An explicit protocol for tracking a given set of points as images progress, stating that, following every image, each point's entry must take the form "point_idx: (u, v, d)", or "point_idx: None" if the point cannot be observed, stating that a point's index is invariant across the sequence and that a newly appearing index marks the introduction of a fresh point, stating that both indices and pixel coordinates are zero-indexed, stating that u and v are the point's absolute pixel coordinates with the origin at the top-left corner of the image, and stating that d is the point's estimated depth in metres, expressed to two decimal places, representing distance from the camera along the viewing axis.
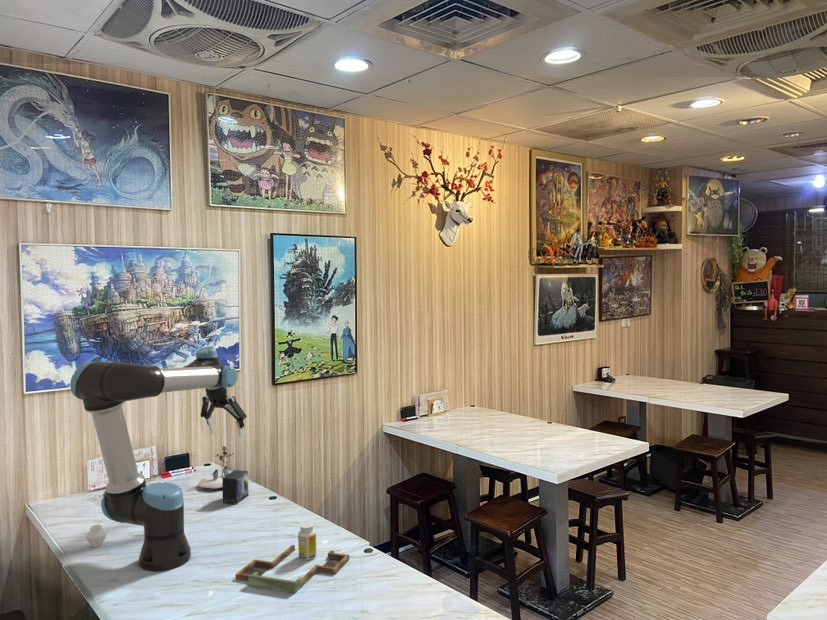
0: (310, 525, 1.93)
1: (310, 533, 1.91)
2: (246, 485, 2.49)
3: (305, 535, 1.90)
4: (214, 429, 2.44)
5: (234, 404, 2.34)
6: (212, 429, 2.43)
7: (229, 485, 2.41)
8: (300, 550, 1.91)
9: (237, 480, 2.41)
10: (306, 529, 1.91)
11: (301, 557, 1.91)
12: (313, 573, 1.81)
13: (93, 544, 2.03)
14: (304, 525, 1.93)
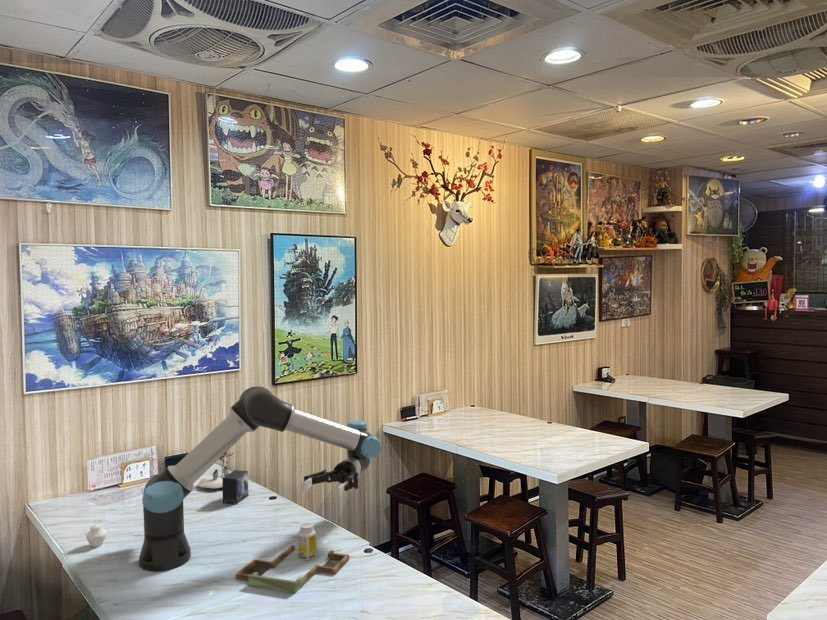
0: (310, 525, 1.93)
1: (310, 533, 1.91)
2: (246, 485, 2.49)
3: (305, 535, 1.90)
4: (304, 487, 2.05)
5: (357, 477, 2.12)
6: (305, 484, 2.05)
7: (229, 485, 2.41)
8: (300, 550, 1.91)
9: (237, 480, 2.41)
10: (306, 529, 1.91)
11: (301, 557, 1.91)
12: (313, 573, 1.81)
13: (93, 544, 2.03)
14: (304, 525, 1.93)
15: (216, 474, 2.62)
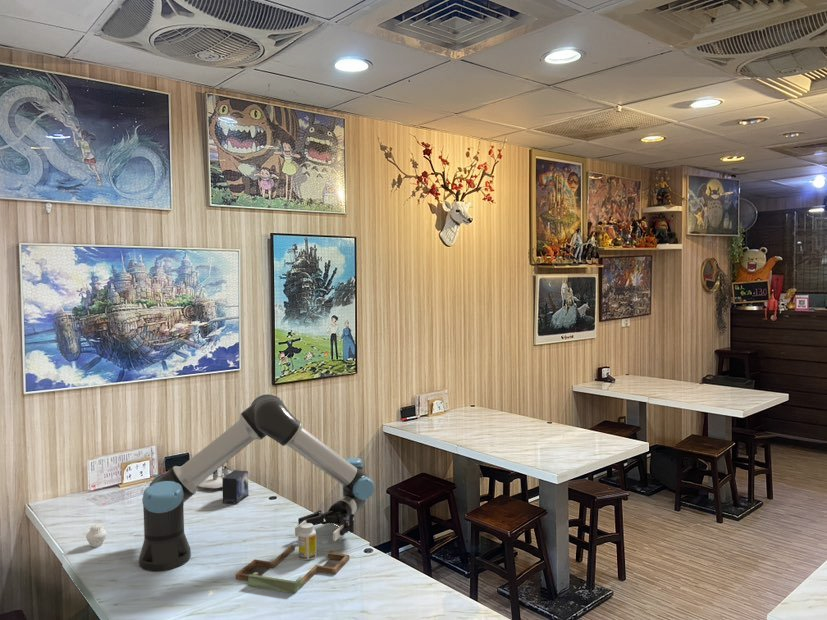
0: (310, 525, 1.93)
1: (310, 533, 1.91)
2: (246, 485, 2.49)
3: (305, 535, 1.90)
4: (298, 531, 2.00)
5: (352, 519, 2.08)
6: (299, 527, 2.00)
7: (229, 485, 2.41)
8: (300, 550, 1.91)
9: (237, 480, 2.41)
10: (306, 529, 1.91)
11: (301, 557, 1.91)
12: (313, 573, 1.81)
13: (93, 544, 2.03)
14: (304, 525, 1.93)
15: (216, 474, 2.62)
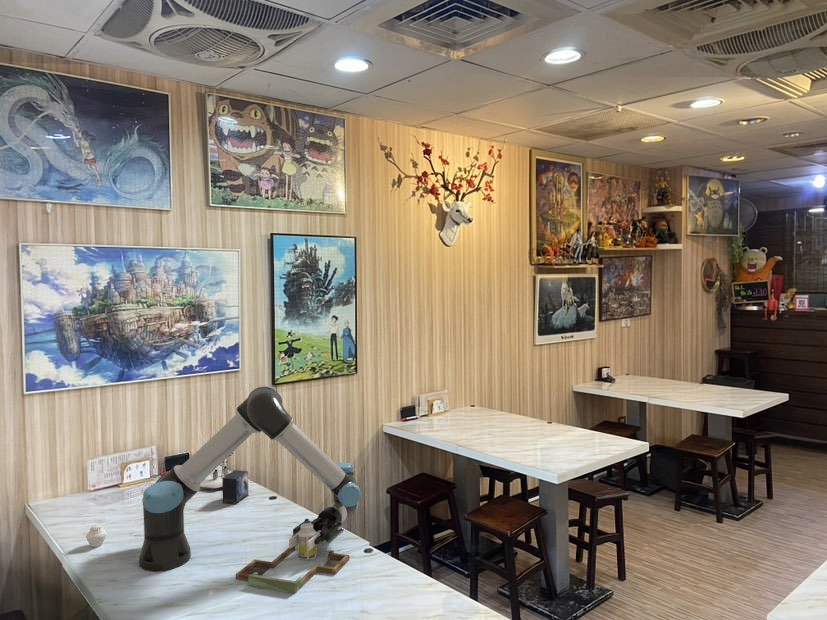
0: (310, 525, 1.93)
1: (310, 533, 1.91)
2: (246, 485, 2.49)
3: (305, 535, 1.90)
4: (292, 543, 1.90)
5: (337, 528, 2.00)
6: (293, 539, 1.91)
7: (229, 485, 2.41)
8: (300, 550, 1.91)
9: (237, 480, 2.41)
10: (306, 529, 1.91)
11: (301, 557, 1.91)
12: (313, 573, 1.81)
13: (93, 544, 2.03)
14: (304, 525, 1.93)
15: (216, 474, 2.62)
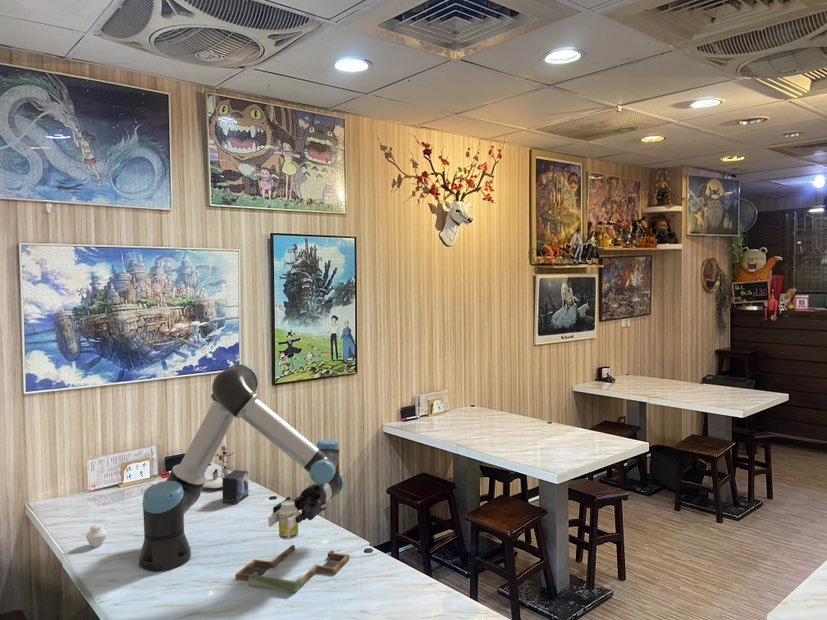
0: (291, 502, 1.80)
1: (291, 511, 1.79)
2: (246, 485, 2.49)
3: (286, 513, 1.78)
4: (272, 521, 1.77)
5: (320, 506, 1.87)
6: (273, 517, 1.78)
7: (229, 485, 2.41)
8: (280, 529, 1.79)
9: (237, 480, 2.41)
10: (287, 506, 1.78)
11: (281, 536, 1.78)
12: (313, 573, 1.81)
13: (93, 544, 2.03)
14: (285, 502, 1.80)
15: (216, 474, 2.62)
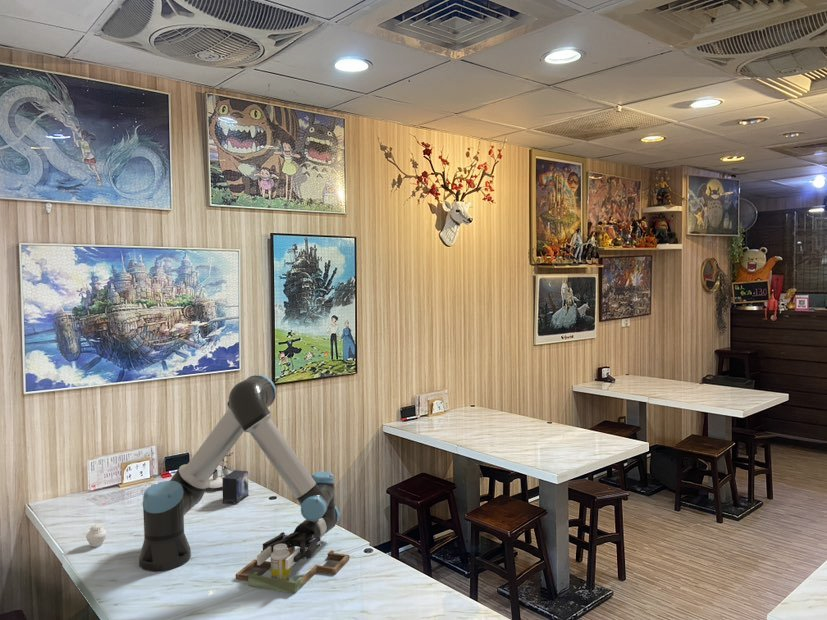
0: (284, 546, 1.78)
1: (283, 555, 1.76)
2: (246, 485, 2.49)
3: (278, 557, 1.75)
4: (261, 559, 1.76)
5: (316, 543, 1.85)
6: (262, 555, 1.76)
7: (229, 485, 2.41)
8: (273, 573, 1.76)
9: (237, 480, 2.41)
10: (279, 551, 1.76)
11: None
12: (313, 573, 1.81)
13: (93, 544, 2.03)
14: (277, 546, 1.78)
15: (216, 474, 2.62)
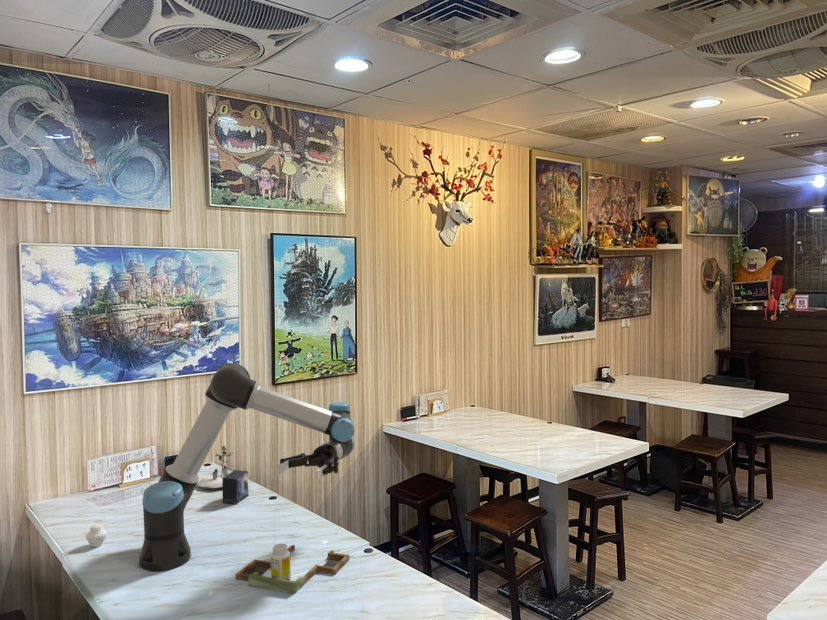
0: (284, 546, 1.78)
1: (283, 555, 1.76)
2: (246, 485, 2.49)
3: (278, 557, 1.75)
4: (279, 470, 1.89)
5: None
6: (280, 466, 1.90)
7: (229, 485, 2.41)
8: (273, 573, 1.76)
9: (237, 480, 2.41)
10: (279, 551, 1.76)
11: None
12: (313, 573, 1.81)
13: (93, 544, 2.03)
14: (277, 546, 1.78)
15: (216, 474, 2.62)
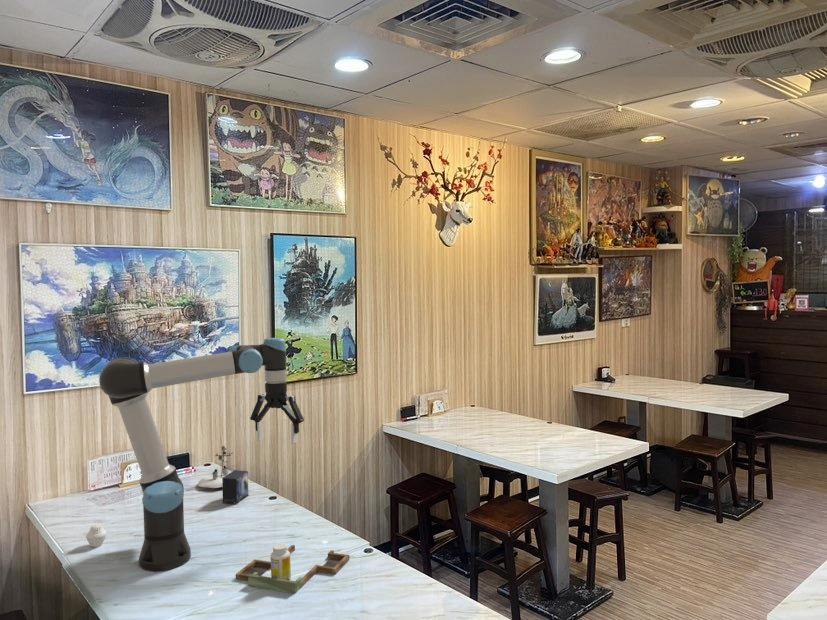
0: (284, 546, 1.78)
1: (283, 555, 1.76)
2: (246, 485, 2.49)
3: (278, 557, 1.75)
4: (261, 436, 2.19)
5: (294, 404, 2.14)
6: (260, 435, 2.18)
7: (229, 485, 2.41)
8: (273, 573, 1.76)
9: (237, 480, 2.41)
10: (279, 551, 1.76)
11: None
12: (313, 573, 1.81)
13: (93, 544, 2.03)
14: (277, 546, 1.78)
15: (216, 474, 2.63)
